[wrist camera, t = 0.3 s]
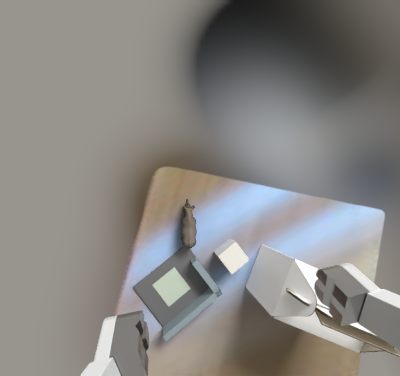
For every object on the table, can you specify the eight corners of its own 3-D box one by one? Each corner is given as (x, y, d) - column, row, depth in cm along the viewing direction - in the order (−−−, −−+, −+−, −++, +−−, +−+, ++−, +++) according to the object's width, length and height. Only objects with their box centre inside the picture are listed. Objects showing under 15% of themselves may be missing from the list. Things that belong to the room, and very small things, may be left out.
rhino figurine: (194, 198, 63) (196, 197, 57) (195, 246, 62) (197, 251, 56) (180, 198, 63) (181, 198, 57) (180, 247, 62) (181, 252, 56)
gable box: (244, 286, 63) (300, 350, 35) (260, 243, 65) (327, 273, 37) (310, 314, 65) (413, 396, 37) (325, 272, 67) (434, 320, 39)
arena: (218, 286, 62) (222, 293, 57) (166, 330, 59) (166, 341, 54) (186, 244, 62) (187, 248, 57) (133, 286, 59) (129, 294, 54)
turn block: (242, 254, 64) (249, 259, 58) (226, 268, 63) (232, 274, 57) (229, 238, 64) (235, 241, 58) (213, 251, 63) (218, 256, 57)
